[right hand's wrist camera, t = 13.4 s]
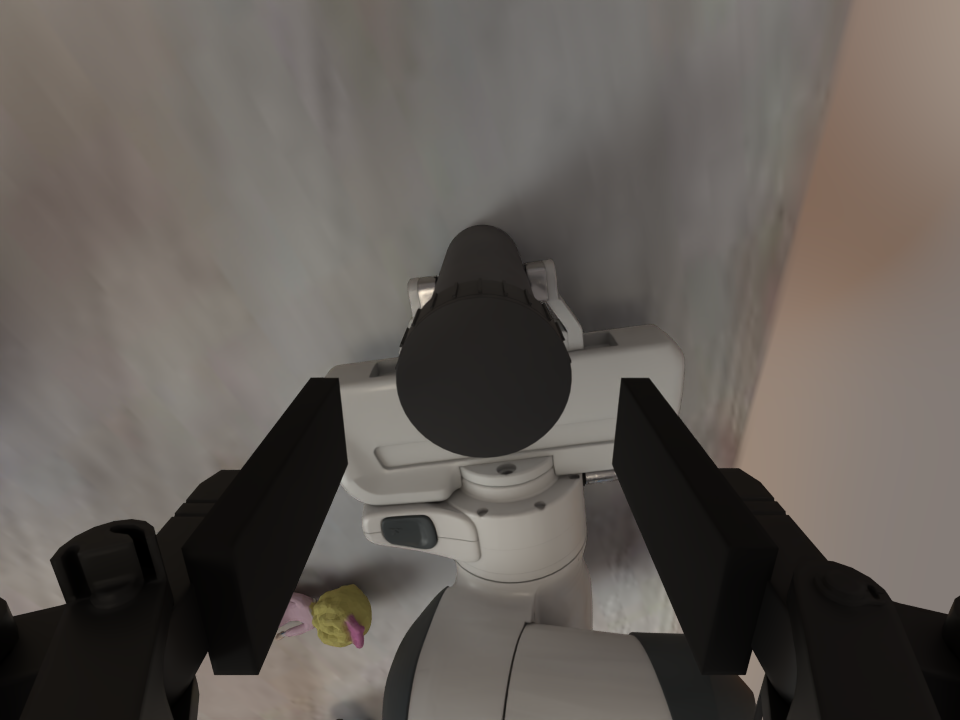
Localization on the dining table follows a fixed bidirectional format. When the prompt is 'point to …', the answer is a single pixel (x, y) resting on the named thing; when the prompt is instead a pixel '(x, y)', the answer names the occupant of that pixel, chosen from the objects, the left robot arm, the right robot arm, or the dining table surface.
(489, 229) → the dark grey tall cylinder
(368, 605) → the figurine
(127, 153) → the dining table surface
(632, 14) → the dining table surface
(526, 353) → the lid
